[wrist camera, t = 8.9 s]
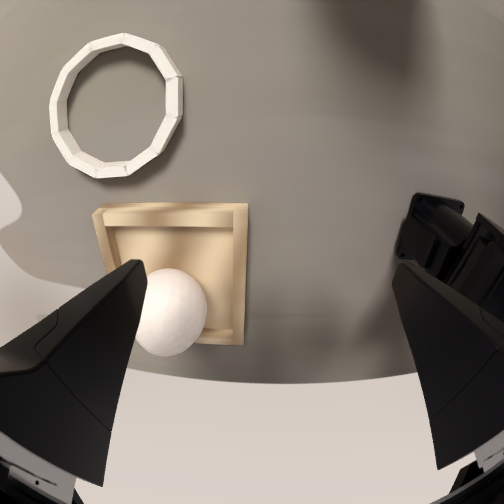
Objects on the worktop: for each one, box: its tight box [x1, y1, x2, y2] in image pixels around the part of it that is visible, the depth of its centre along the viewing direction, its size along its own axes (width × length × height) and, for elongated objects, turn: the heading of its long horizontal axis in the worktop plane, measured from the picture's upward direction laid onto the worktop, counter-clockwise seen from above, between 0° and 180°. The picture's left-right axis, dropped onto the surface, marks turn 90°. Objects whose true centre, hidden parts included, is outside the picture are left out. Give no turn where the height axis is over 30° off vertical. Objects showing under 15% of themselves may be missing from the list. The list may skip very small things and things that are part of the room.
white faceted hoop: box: [49, 33, 183, 178], centre depth 15 cm, size 11×11×1 cm
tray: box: [92, 203, 248, 345], centre depth 23 cm, size 12×14×2 cm
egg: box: [135, 268, 207, 357], centre depth 20 cm, size 6×6×8 cm
